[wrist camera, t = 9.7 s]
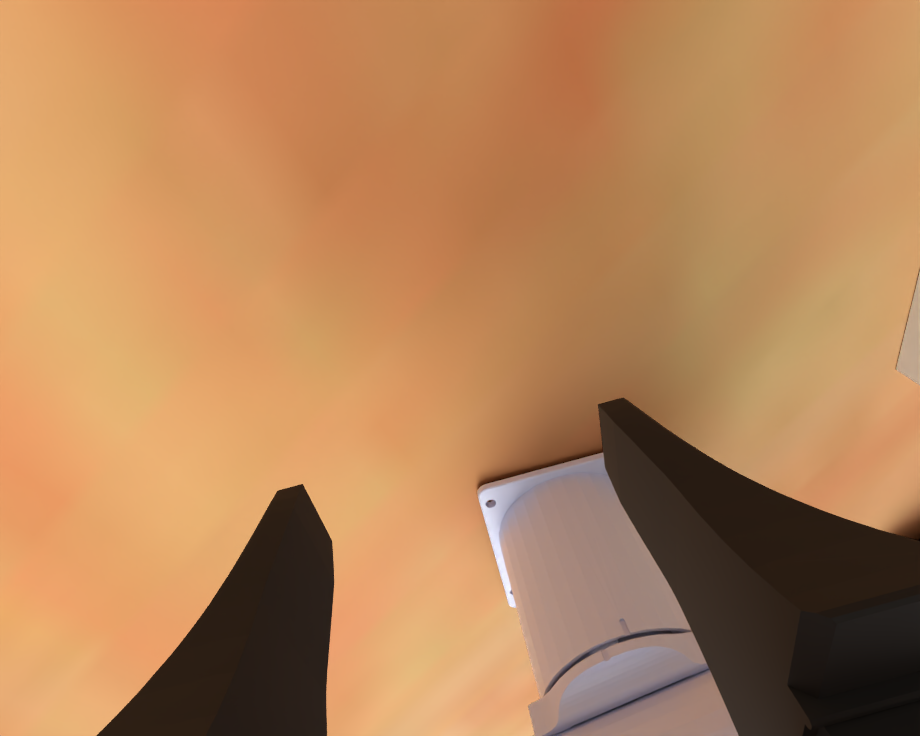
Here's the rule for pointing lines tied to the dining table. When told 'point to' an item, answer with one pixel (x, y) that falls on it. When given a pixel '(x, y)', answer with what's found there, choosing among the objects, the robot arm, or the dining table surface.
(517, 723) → the dining table surface
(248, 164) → the dining table surface
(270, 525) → the robot arm
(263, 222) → the dining table surface
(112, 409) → the dining table surface
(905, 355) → the dock
